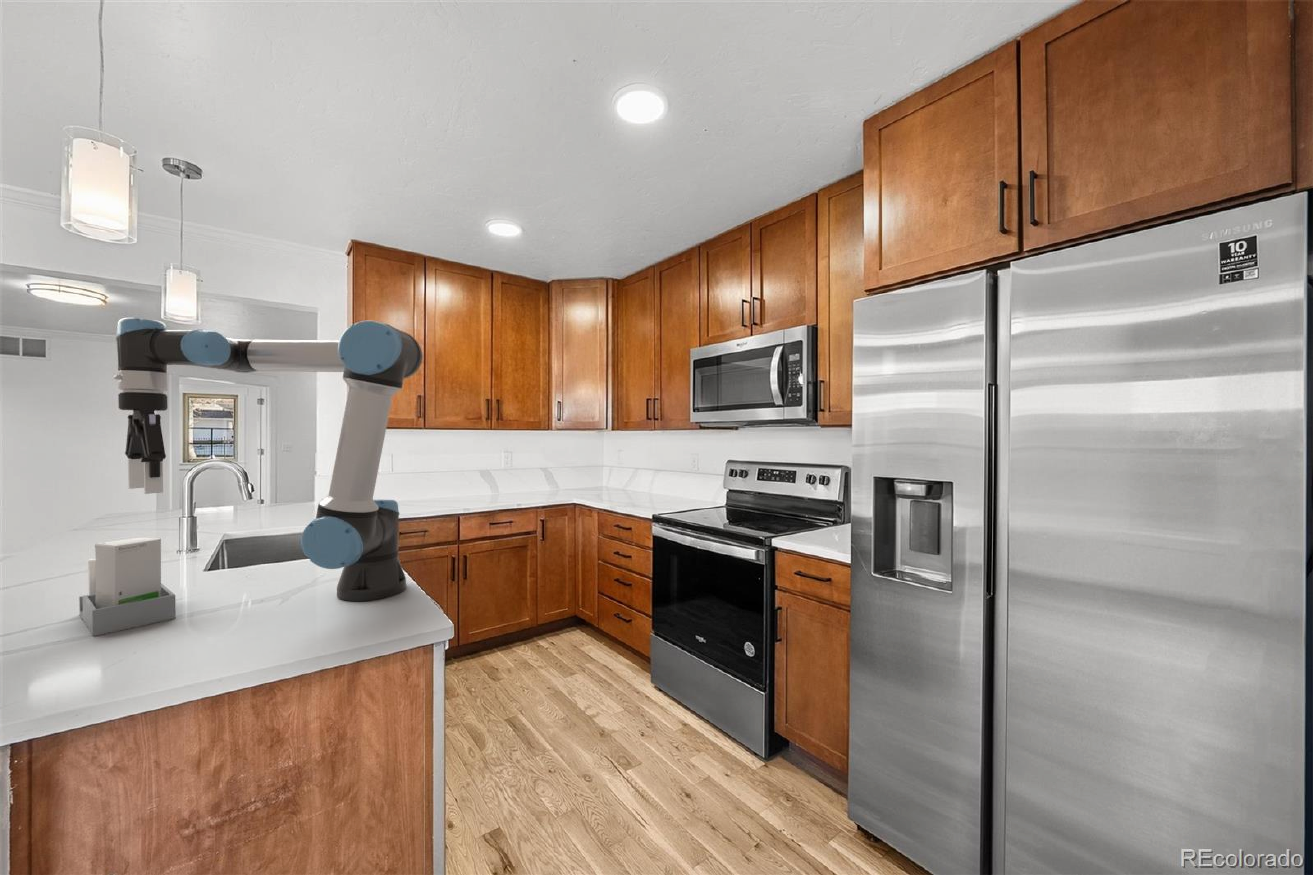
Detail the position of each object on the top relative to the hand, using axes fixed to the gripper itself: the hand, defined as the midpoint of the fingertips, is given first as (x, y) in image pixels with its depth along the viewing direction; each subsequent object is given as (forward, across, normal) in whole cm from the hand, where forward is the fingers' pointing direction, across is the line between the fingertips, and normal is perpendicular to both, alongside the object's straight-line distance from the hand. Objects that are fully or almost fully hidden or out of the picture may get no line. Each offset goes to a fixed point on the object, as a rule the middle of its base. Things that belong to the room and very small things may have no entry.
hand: (145, 490), depth 112 cm
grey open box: (+27, -1, -3) cm, 27 cm away
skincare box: (+26, +1, -3) cm, 26 cm away
